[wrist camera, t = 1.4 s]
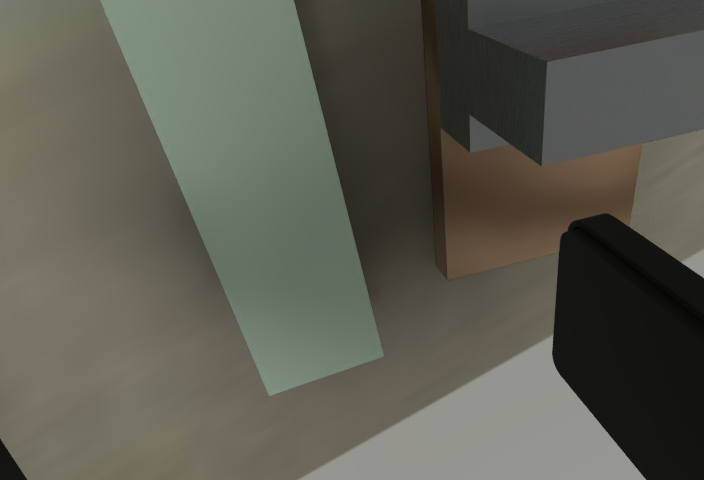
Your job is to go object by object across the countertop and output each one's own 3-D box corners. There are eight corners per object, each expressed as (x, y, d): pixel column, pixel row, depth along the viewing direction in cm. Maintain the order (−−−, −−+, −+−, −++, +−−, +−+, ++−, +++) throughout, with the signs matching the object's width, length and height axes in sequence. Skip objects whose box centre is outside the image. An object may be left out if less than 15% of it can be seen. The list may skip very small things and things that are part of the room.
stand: (403, -310, 18) (577, -492, 10) (683, -337, 19) (1033, -515, 11) (436, 264, 29) (529, 396, 21) (609, 221, 31) (757, 329, 23)
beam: (28, -258, 17) (-42, -333, 12) (195, -295, 17) (197, -382, 12) (255, 309, 28) (269, 395, 23) (350, 278, 29) (384, 356, 24)
